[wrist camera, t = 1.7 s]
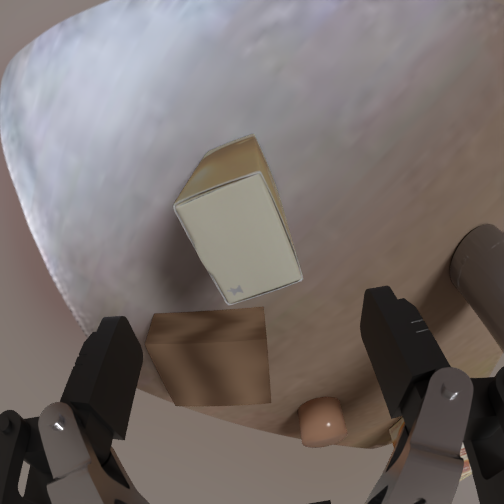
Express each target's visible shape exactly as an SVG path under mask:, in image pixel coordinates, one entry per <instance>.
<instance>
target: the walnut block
mask: <svg viewBox="0 0 504 504" xmlns="http://www.w3.org/2000/svg"><path fill="white" fill-rule="evenodd" d="M145 346H146V348H147V350H148V352H149V354H150V357H151V359H152V361H153V363H154V365H155V367H156V369H157V371H158V373H159V375H160V377H161V379H162V381H163V383H164V385H165V387H166V389H167V391H168V393H169V394H170V396H171V398H172V400H173V402H174V404H175V406H233V405H252V404H265V403H271V391H270V377H269V364H268V350H267V337H266V327H265V316H264V307H255V308H242V309H229V310H214V311H198V312H179V313H156V314H154V316H153V319H152V322H151V325H150V329H149V332H148V335H147V339H146V342H145Z"/></svg>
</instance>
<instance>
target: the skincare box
mask: <svg viewBox="0 0 504 504" xmlns="http://www.w3.org/2000/svg"><path fill="white" fill-rule="evenodd" d="M173 210H174V211H175V213H176V215H177V217H178V219H179V221H180V223H181V225H182V227H183V228H184V230H185V232H186V234H187V236H188V238H189V239H190V241H191V243H192V245H193V247H194V249H195V251H196V252H197V254H198V256H199V258H200V260H201V262H202V263H203V265H204V266H205V268H206V270H207V271H208V273H209V275H210V276H211V278H212V280H213V282H214V283H215V285H216V287H217V288H218V290H219V292H220V294H221V295H222V297H223V299H224V300H225V302H226V304H227V305H232V304H236V303H238V302H241V301H245V300H248V299H251V298H255V297H258V296H261V295H264V294H267V293H270V292H273V291H276V290H279V289H282V288H284V287H287V286H289V285H292V284H294V283H297V282H300V281H302V280H303V275H302V271H301V268H300V264H299V261H298V258H297V255H296V251H295V248H294V244H293V241H292V238H291V234H290V231H289V227H288V224H287V220H286V217H285V214H284V210H283V207H282V203H281V200H280V197H279V194H278V191H277V188H276V185H275V182H274V179H273V177H272V174H271V172H270V169H269V166H268V164H267V162H266V159H265V157H264V155H263V153H262V150H261V148H260V146H259V144H258V142H257V139H256V137H255V135H254V134H251V135H248V136H245V137H242V138H240V139H237V140H234V141H232V142H229V143H227V144H224V145H222V146H219V147H217V148H215V149H212V150H210V151H208V152H207V153H206V154H205V156H204V157H203V159H202V160H201V162H200V163H199V165H198V167H197V168H196V169H195V171H194V173H193V174H192V176H191V177H190V179H189V180H188V182H187V184H186V185H185V187H184V188H183V190H182V191H181V193H180V195H179V196H178V198H177V199H176V201H175V203H174V204H173Z"/></svg>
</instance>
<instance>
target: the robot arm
mask: <svg viewBox="0 0 504 504" xmlns="http://www.w3.org/2000/svg"><path fill="white" fill-rule="evenodd" d="M450 277H451V281H452V282H453V284H454V285H455V287H456V288H457V289H458V290H459V292H460V293H461V294H462V295H463V297H464V298H465V299H466V300H467V302H468V303H469V305H470V306H471V307H472V309H473V310H474V311H475V313H476V314H477V315H478V317H479V318H480V319H481V321H482V322H483V324H484V325H485V326H486V328H487V329H488V331H489V332H490V333H491V335H492V336H493V338H494V339H495V341H496V342H497V344H498V345H499V347H500V348H501V350H502V351H503V353H504V233H503V232H502V231H500V230H499V229H498V228H497V227H495V226H494V225H490V224H486V225H482V226H479V227H477V228H476V229H474V230H472V231H471V232H470V233H469V234H468V235H467V236H466V237H465V238H464V239H463V240H462V242H461V243H460V245H459V246H458V248H457V250H456V252H455V254H454V256H453V259H452V262H451V266H450ZM360 330H361V336H362V340H363V343H364V345H365V348H366V350H367V353H368V355H369V358H370V361H371V363H372V366H373V368H374V371H375V374H376V376H377V379H378V382H379V385H380V387H381V390H382V393H383V396H384V399H385V401H386V404H387V407H388V410H389V413H390V416H391V419H392V418H396V417H399V416H403V419H404V422H405V424H404V426H403V428H402V431H401V433H400V436H399V438H398V441H397V443H396V445H395V448H394V450H393V452H392V454H391V457H390V459H389V461H388V463H387V465H386V468H385V470H384V471H383V474H382V475H381V477H380V479H379V480H378V482H377V483H376V485H375V487H374V488H373V490H372V491H371V493H370V495H369V497H368V498H367V500H366V502H365V504H451V503H452V501H453V498H454V495H455V493H456V489H457V487H458V484H459V481H460V478H461V475H462V471H463V467H464V459H463V458H461V457H460V450H461V447H462V443H463V444H464V447H465V450H466V454H467V457H468V460H469V464H470V467H471V470H472V474H473V478H474V481H475V485H476V489H477V493H478V497H479V501H480V504H504V367H502V368H501V369H500V370H499V371H498V373H497V374H496V376H495V377H489V378H469V376H468V375H467V374H466V373H465V372H463V371H462V370H460V369H457V368H453V367H451V366H450V365H449V363H448V361H447V359H446V358H445V356H444V354H443V352H442V351H441V349H440V347H439V345H438V343H437V342H436V340H435V338H434V337H433V335H432V333H431V332H430V330H428V326H427V325H426V323H425V322H424V321H423V318H422V317H421V315H420V313H419V312H418V310H417V309H416V307H415V306H413V305H412V304H411V303H410V302H408V301H407V300H406V299H404V298H402V299H397V298H396V296H395V295H394V293H393V291H392V290H391V288H390V287H389V286H382V287H376V288H370V289H366V291H365V294H364V301H363V308H362V315H361V322H360ZM142 362H143V352H142V348H141V345H140V343H139V341H138V339H137V337H136V336H135V334H134V332H133V330H132V328H131V326H130V324H129V322H128V320H127V318H126V317H124V316H116V317H104V318H103V319H102V321H101V323H100V325H99V327H98V329H97V332H93V333H92V334H91V335H90V336H89V337H88V339H87V340H86V341H85V342H84V344H83V346H82V348H81V351H80V353H79V357H77V360H76V362H75V366H74V367H73V370H72V372H71V375H70V377H69V379H68V382H67V384H66V387H65V389H64V392H63V395H62V397H61V400H60V402H55V403H52V404H50V405H49V406H47V407H46V408H45V409H44V410H43V411H42V413H41V415H40V417H34V418H28V419H23V418H22V417H21V416H20V415H19V414H18V413H17V412H15V411H13V410H7V411H4V412H3V413H2V414H0V504H149V503H148V502H147V500H146V499H145V498H144V497H143V496H141V494H140V493H139V492H138V491H137V490H136V488H135V487H134V485H133V483H132V481H131V480H130V478H129V476H128V475H127V473H126V471H125V469H124V467H123V466H122V464H121V462H120V460H119V458H118V457H117V455H116V453H115V451H114V449H113V448H112V447H111V444H112V439H118V440H125V436H126V431H127V426H128V421H129V417H130V412H131V408H132V403H133V399H134V395H135V391H136V387H137V382H138V378H139V374H140V370H141V367H142ZM23 460H24V461H25V462H27V463H28V464H30V470H29V474H28V479H27V484H26V489H25V494H24V496H23V497H21V495H20V494H19V491H18V482H19V477H20V473H21V468H22V464H23ZM310 504H331V502H330V500H328V501H323V502H316V503H310Z"/></svg>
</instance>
